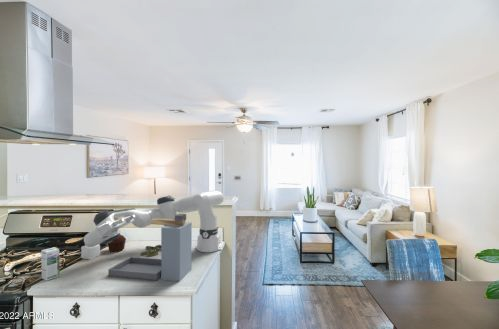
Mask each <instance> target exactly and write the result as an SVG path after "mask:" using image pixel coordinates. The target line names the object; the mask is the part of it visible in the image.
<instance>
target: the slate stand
mask: <svg viewBox="0 0 499 329" xmlns="http://www.w3.org/2000/svg"><path fill="white" fill-rule="evenodd" d="M192 228H193V227H192V221H186V225H184V226H173V225H166V226H164V225H163V227H161V229H160V230H161V231H160V232H161V238H160V239H161V240H160V243H161V244H160V245H161V251H160V253H161V254H160V256H161V257H160V259H161V278H160V279H161V280H163V281H164V280H165V281H172V282H181V281H183V279H184V278H185V277H186V275H187V274H188V273H190V272H191V271H192V240H193V239H192V232H193V230H192ZM187 276H188V275H187Z"/></svg>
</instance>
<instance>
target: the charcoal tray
mask: <svg viewBox="0 0 499 329" xmlns="http://www.w3.org/2000/svg"><path fill="white" fill-rule="evenodd" d="M107 270H108V271H107V272H108V277H111V278H112V277H114V278H122V279H132V280H133V279H134V280H141V281H152V282H157V281H158V280H160V279H161V258H151V257H142V256H141V257H137V256H129V257H128V258H125V259H124V260H122V261H121V262H119V263H117V264H116V265H113V266H112V267H110V268H109V269H107Z"/></svg>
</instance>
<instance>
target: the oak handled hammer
mask: <svg viewBox="0 0 499 329" xmlns="http://www.w3.org/2000/svg"><path fill="white" fill-rule="evenodd" d="M186 220H187V213H177V215H175V219H158V218H154V219H151V225H158V226H160V225H161V226H164V225H173V226H184V225H186V222H187V221H186Z"/></svg>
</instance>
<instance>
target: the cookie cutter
mask: <svg viewBox="0 0 499 329" xmlns="http://www.w3.org/2000/svg"><path fill="white" fill-rule="evenodd" d="M145 250H146V251H142V252H140V256H141V257H143V256H144V255H145V256H146V258H151V257H156V256H158V255H159V252H161V244H156V245H155V246H151V245H146V246H145Z"/></svg>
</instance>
